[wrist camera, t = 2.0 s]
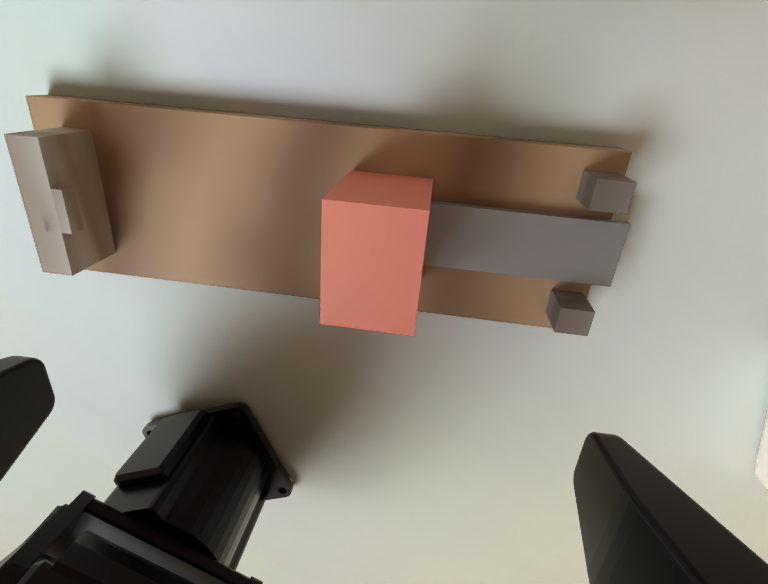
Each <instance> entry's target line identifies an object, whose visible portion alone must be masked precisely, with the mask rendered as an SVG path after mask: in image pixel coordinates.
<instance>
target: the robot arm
mask: <svg viewBox="0 0 768 584" xmlns="http://www.w3.org/2000/svg"><path fill="white" fill-rule="evenodd" d="M54 403H55V396H54V393H53V390H52V387H51V383H50V380H49V377H48V374H47V371H46V368H45V366H44V364H43V363H42V362H41V361H40V360H38V359H36V358H30V357H22V356H11V357H7V358H3V359H0V481H1V480H2V478H3V477H4V476H5V474H6V473H7V471H8V470H9V469H10V467H11V466H12V465H13V463H14V462H15V461H16V459H17V458H18V456H19V455H20V454H21V452H22V451H23V450H24V448H25V447H26V446H27V444H28V443H29V441H30V440H31V439H32V437H33V436H34V435H35V433H36V432H37V431H38V429H39V428H40V426H41V425H42V424H43V422H44V421H45V420H46V418H47V417H48V416H49V414H50V413H51V411H52V409H53V407H54ZM237 411H238V412H240V413H241V414H240V413H238V412H237ZM143 435H144V436H145V438H146V439H145V440H144V441H143V442H142V443H141V445H140V446H139V447H138V448H137V449H136V451H135V452H134V453H133V454H132V455H131V457H130V458H129V459H128V460H127V461H126V463H125V464H124V465H123V466H122V467H121V469H120V470H119V471H118V472H117V473H116V475H115V478H114V482H115V484H116V485H117V487H116V488H115V489H114V491H113V492H112V493H111V494H110V496H109V497H108V498H107V499H106V500H105V502H104V503H103V502H101V501H99V500H97V499H95V497H96V496H95V495H93V494H91V493H89V492H87V491H85V490H84V491H82V492H81V493H80V494H79V495H78V496H77V497H76V498H75V499H74V500H73V501H72V502H71V503H70V504H69V505H67V504H65V505H63V506H57V507H56V508H55V509H54V510H53V512H52V513H51V514H50V515H49V516H48V517H47V518H46V519H45V520H44V521H43V523H42V524H41V525H40V526H39V527H38V528H37V529H36V530H35V531H34V532H33V533H32V534H31V535H30V536H29V537H28V538H27V539H26V540H25V541H24V542H23V543H22V544H21V545H20V546H19V547H18V548H16V549H15V550H14V551H13V552H12V553H10V554H9V555H8V556H7V557H5V558H4V559H3V560H2V561H0V584H263V582H262V581H260V580H258V579H256V578H254V577H251V578H249V577H247V576H245V575H243V574H241V573H239V572H237V571H235V570H236V568H237V566H238V563H239V561H240V558H241V556H242V554H243V551H244V549H245V547H246V544H247V542H248V540H249V537H250V535H251V533H252V530H253V528H254V526H255V523H256V521H257V519H258V516H259V514H260V512H261V509H262V507H263V505H264V502H265V500H270V499H276V498H282V497H287V496H289V495H290V494H291V492H292V489H293V484H292V482H291V480H290V478H289V477H288V475H287V473H286V471H285V470H284V468H283V466H282V465H281V463H280V461H279V459H278V458H277V456H276V454H275V452H274V451H273V449H272V447H271V445H270V444H269V442H268V440H267V438H266V437H265V435H264V433H263V432H262V430H261V428H260V426H259V425H258V423H257V421H256V419H255V418H254V416H253V414H252V412H251V411H250V409H249V408H248V406H247V405H245V404H244V403H240V402H237V403H232V404H228V405H223V406H219V407H214V408H210V409H206V410H204V409H198V410H194V411H190V412H185V413H181V414H176V415H172V416H168V417H164V418H162V419H161V420H157V421H152V422H149V423H148V424H147V425H146V426H145V427H144V429H143ZM574 490H575V496H576V503H577V509H578V515H579V521H580V528H581V534H582V540H583V547H584V553H585V559H586V565H587V572H588V577H589V582H590V584H768V564H767V563H766V562H765V561H763V560H762V559H761V558H760V557H759V556H758V555H756V554H755V553H754V552H753V551H752V550H751V549H750V548H748V547H747V546H746V545H745V544H744V543H743V542H741V541H740V540H739V539H738V538H737V537H736V536H734V535H733V534H732V533H731V532H730V531H729V530H728V529H726V528H725V527H724V526H723V525H722V524H721V523H719V522H718V521H717V520H716V519H715V518H714V517H712V516H711V515H710V514H709V513H708V512H707V511H706V510H704V509H703V508H702V507H701V506H700V505H699V504H697V503H696V502H695V501H694V500H693V499H692V498H690V497H689V496H688V495H687V494H686V493H685V492H683V491H682V490H681V489H680V488H679V487H678V486H677V485H675V484H674V483H673V482H672V481H671V480H670V479H668V478H667V477H666V476H665V475H664V474H663V473H661V472H660V471H659V470H658V469H657V468H656V467H655V466H653V465H652V464H651V463H650V462H649V461H648V460H646V459H645V458H644V457H643V456H642V455H641V454H639V453H638V452H637V451H636V450H635V449H634V448H633V447H631V446H630V445H629V444H628V443H627V442H626V441H624V440H623V439H622V438H621V437H619V436H617V435H613V434H605V433H597V432H592V433H590V434H588V436H587V437H586V439H585V441H584V444H583V447H582V450H581V453H580V456H579V459H578V462H577V465H576V467H575V471H574Z"/></svg>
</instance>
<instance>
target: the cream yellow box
mask: <svg viewBox="0 0 768 584" xmlns="http://www.w3.org/2000/svg"><path fill="white" fill-rule="evenodd" d="M754 470H755V473H756V476H757V477H758V478H759V479H760V481H761V482H762V483H763V484H764V486H765V487H766V488H767V489H768V408H767V413H766V418H765V422H764V427H763V432H762V436H761V441H760V445H759V450H758V455H757V459H756V464H755V468H754Z"/></svg>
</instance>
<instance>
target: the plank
mask: <svg viewBox="0 0 768 584" xmlns="http://www.w3.org/2000/svg"><path fill="white" fill-rule="evenodd" d="M26 99H27V103H28V107H29V111H30V115H31V119H32V123H33V127H34V130H33V131H25V132H17V133H9V134H4V136H5V139H6V143H7V147H8V150H9V154H10V157H11V161H12V164H13V168H14V171H15V175H16V178H17V182H18V186H19V189H20V193H21V196H22V200H23V203H24V207H25V210H26V214H27V217H28V221H29V224H30V228H31V232H32V235H33V239H34V242H35V246H36V249H37V253H38V256H39V260H40V263H41V267H42V271H43V272H48V273H55V274H63V275H71V276H73V275H75V274H76V273H78V272H80V271H82V270H92V271H100V272H108V273H116V274H124V275H132V276H140V277H148V278H156V279H164V280H172V281H180V282H188V283H196V284H204V285H212V286H220V287H228V288H236V289H244V290H252V291H260V292H268V293H276V294H284V295H292V296H300V297H308V298H316V299H320V284H321V218H322V198H324V197H325V196H326V195H327V194H328V193H329V192H330V191H331V190H332V189H333V188H334V187H335V186H336V185H337V184H338V183H339V182H340V181H341V180H342V179H343V178H344V177H345V176H346V175H347V174H348V173H349V172H350V171H351V170H353V171H363V172H373V173H382V174H392V175H402V176H412V177H422V178H431V179H433V185H432V194H431V201H440V202H449V203H459V204H468V205H477V206H487V207H496V208H506V209H515V210H525V211H534V212H544V213H553V214H563V215H572V216H581V217H591V218H600V219H610V220H611V217H612V214H613V213H621V214H627V212H628V209H629V206H630V203H631V200H632V197H633V193H634V190H635V187H636V184H637V183H636V182H634V181H632V180H630V179H629V178H627V177H625V176H624V175H625V172H626V169H627V165H628V162H629V159H630V156H631V153H630V152H628V151H625V150H623V149H618V148H607V147H597V146H586V145H575V144H565V143H554V142H543V141H533V140H522V139H511V138H501V137H490V136H479V135H469V134H458V133H447V132H437V131H426V130H415V129H405V128H394V127H383V126H373V125H362V124H351V123H341V122H330V121H319V120H309V119H298V118H287V117H277V116H266V115H255V114H245V113H234V112H223V111H213V110H202V109H191V108H181V107H170V106H159V105H149V104H138V103H127V102H117V101H106V100H95V99H85V98H74V97H63V96H53V95H33V96H26ZM590 285H591V284H584V283H575V282H567V281H558V280H550V279H541V278H532V277H524V276H515V275H507V274H498V273H490V272H481V271H473V270H464V269H456V268H447V267H438V266H430V265H423V268H422V276H421V284H420V293H419V301H418V309H417V311H420V312H428V313H436V314H444V315H452V316H460V317H468V318H476V319H484V320H492V321H500V322H508V323H516V324H524V325H532V326H540V327H548V328H553V330H554V332H559V333H567V334H575V335H583V336H588V333H589V330H590V327H591V324H592V320H593V317H594V314H595V311H594V310H593V308H592V307H591V305H590V303H589V302H588V300H587V299H586V298H587V295H588V292H589V289H590Z"/></svg>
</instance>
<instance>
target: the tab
mask: <svg viewBox="0 0 768 584" xmlns="http://www.w3.org/2000/svg"><path fill="white" fill-rule="evenodd" d="M432 185H433V179H431V178H422V177H412V176H402V175H392V174H382V173H373V172H363V171H353V170H351V171H350V172H349V173H348V174H347V175H346V176H345V177H344V178H343V179H342V180H341V181H340V182H339V183H338V184H337V185H336V186H335V187H334V188H333V189H332V190H331V191H330V192H329V193H328V194H327V195H326V196H325V197H324V198H322V218H321V284H320V324H325V325H333V326H340V327H348V328H356V329H363V330H371V331H379V332H387V333H394V334H402V335H410V336H414V333H415V325H416V317H417V309H418V301H419V293H420V284H421V276H422V268H423V265H430V266H438V267H447V268H456V269H464V270H473V271H481V272H490V273H498V274H507V275H515V276H524V277H532V278H541V279H550V280H558V281H567V282H575V283H584V284H592V285H601V286H609V287H610V285H611V282H612V279H613V276H614V273H615V270H616V267H617V264H618V261H619V258H620V255H621V252H622V249H623V246H624V243H625V240H626V237H627V234H628V231H629V228H630V225H631V224H629V223H628V222H627V221H619V220H610V219H600V218H591V217H581V216H572V215H563V214H553V213H544V212H534V211H525V210H515V209H506V208H496V207H487V206H477V205H468V204H459V203H449V202H440V201H431V194H432Z"/></svg>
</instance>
